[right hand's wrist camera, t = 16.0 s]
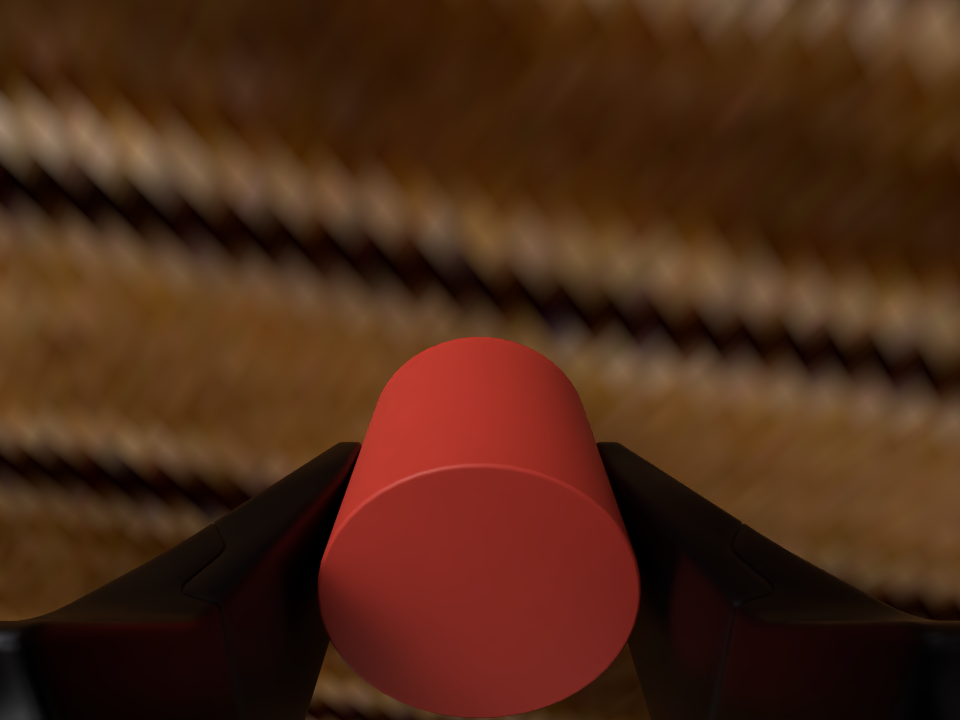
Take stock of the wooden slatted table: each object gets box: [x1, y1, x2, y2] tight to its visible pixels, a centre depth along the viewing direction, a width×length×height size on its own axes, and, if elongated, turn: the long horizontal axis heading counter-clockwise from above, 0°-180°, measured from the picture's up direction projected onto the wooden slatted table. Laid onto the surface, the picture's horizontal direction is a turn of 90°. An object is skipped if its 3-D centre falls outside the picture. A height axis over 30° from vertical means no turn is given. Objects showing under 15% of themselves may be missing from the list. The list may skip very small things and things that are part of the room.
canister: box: [317, 337, 641, 718], centre depth 10 cm, size 4×4×4 cm
